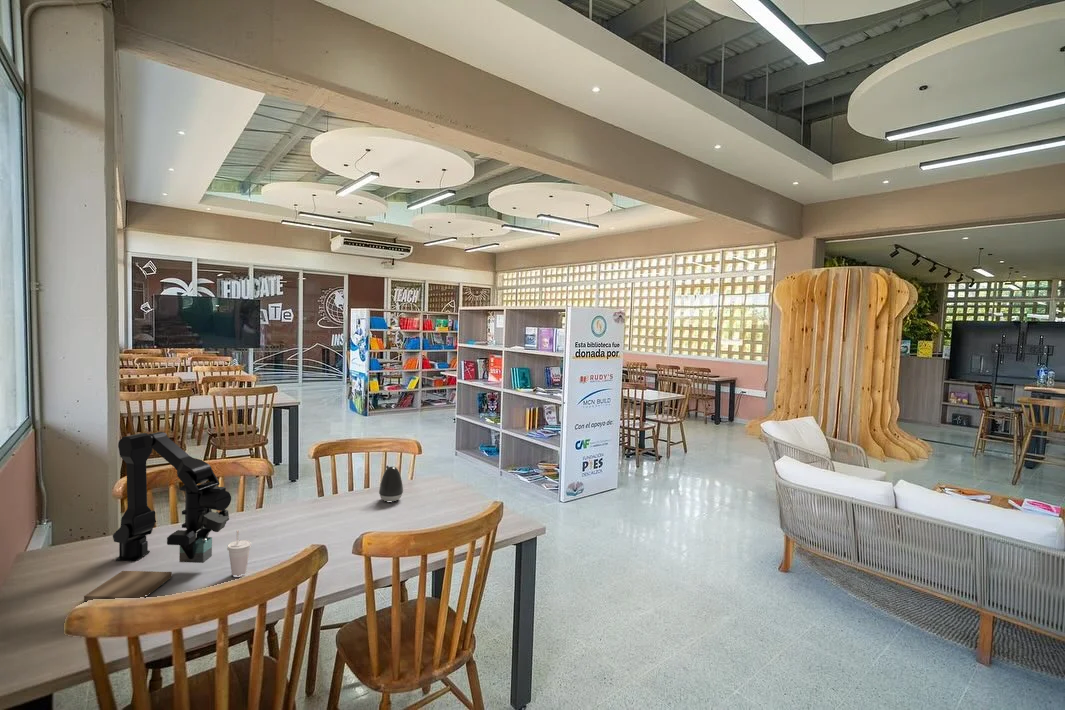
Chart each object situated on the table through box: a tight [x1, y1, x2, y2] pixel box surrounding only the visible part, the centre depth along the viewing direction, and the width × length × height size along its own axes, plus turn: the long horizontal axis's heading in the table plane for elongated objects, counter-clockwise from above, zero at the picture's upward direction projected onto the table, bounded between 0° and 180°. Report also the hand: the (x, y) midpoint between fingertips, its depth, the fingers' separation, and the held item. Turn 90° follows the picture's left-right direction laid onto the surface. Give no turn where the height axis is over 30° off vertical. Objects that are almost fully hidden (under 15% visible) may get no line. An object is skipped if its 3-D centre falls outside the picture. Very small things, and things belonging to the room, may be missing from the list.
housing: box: [179, 536, 213, 564], centre depth 158 cm, size 7×4×6 cm, turn 93°
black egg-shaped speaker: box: [378, 465, 404, 502], centre depth 226 cm, size 10×10×15 cm
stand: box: [83, 570, 173, 603], centre depth 145 cm, size 14×14×2 cm
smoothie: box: [226, 530, 252, 578], centre depth 157 cm, size 6×6×14 cm
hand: (195, 555), depth 158 cm, fingers closed on housing, 4 cm apart
